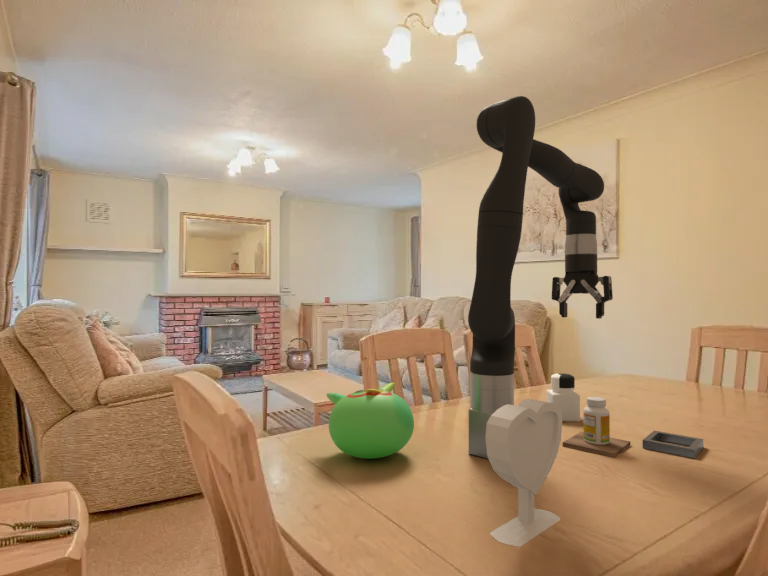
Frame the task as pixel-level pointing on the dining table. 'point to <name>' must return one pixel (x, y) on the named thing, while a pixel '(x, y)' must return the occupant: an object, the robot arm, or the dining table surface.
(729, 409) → the dining table surface
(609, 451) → the coaster
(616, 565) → the dining table surface
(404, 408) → the green rounded blob
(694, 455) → the square frame
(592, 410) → the supplement bottle
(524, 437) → the heart sculpture
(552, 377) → the medicine bottle
